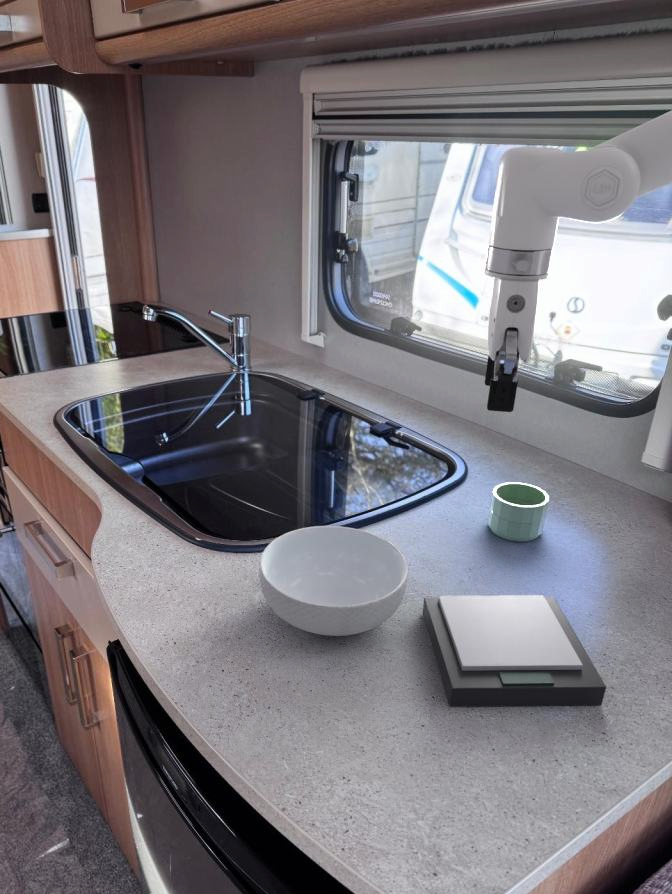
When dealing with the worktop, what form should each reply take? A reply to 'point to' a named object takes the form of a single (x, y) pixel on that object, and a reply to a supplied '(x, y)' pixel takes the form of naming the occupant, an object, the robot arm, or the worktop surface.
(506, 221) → the robot arm
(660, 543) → the worktop surface
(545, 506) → the small cup
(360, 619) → the cereal bowl
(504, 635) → the scale
